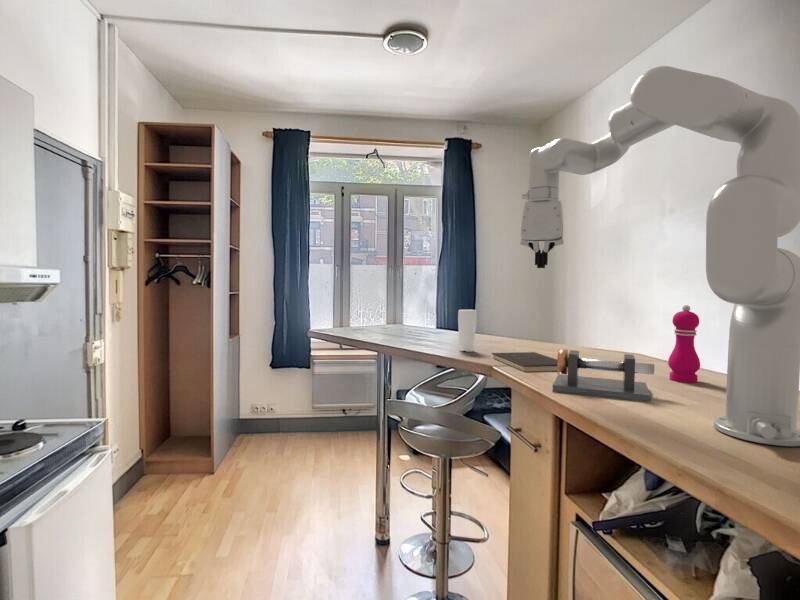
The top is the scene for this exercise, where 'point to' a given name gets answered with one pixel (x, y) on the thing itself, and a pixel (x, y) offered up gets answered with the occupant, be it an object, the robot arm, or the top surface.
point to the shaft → (600, 364)
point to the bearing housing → (602, 382)
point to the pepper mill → (684, 347)
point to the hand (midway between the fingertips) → (541, 267)
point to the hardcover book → (527, 361)
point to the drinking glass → (467, 329)
